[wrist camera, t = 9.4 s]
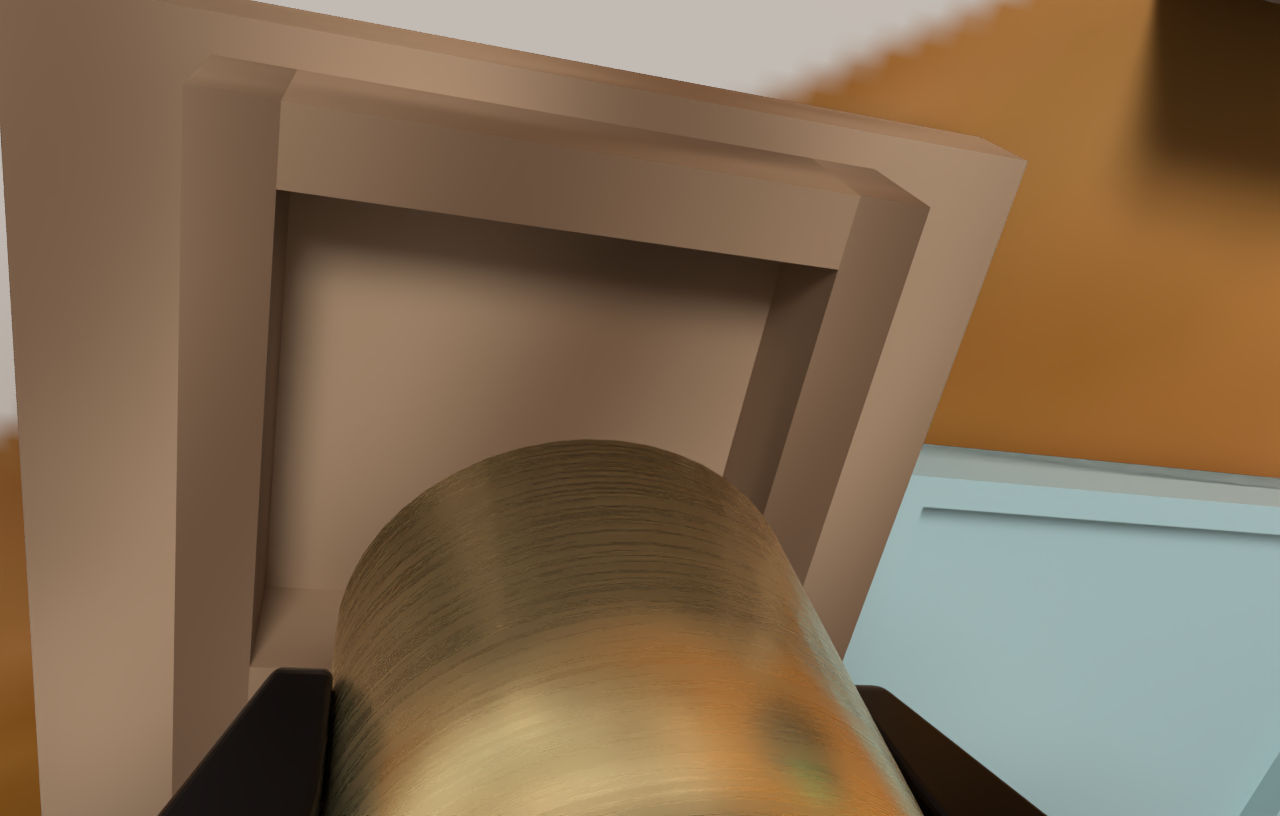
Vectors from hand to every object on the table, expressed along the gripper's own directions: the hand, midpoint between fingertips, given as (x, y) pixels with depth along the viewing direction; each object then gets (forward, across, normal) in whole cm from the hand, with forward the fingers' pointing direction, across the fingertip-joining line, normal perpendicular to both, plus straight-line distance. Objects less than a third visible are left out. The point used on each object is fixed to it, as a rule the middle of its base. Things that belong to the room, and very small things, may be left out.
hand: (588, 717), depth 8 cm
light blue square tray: (+6, -11, +6) cm, 14 cm away
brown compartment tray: (+6, 0, +4) cm, 8 cm away
